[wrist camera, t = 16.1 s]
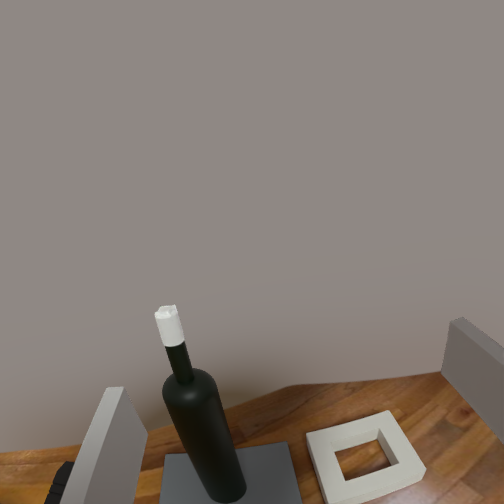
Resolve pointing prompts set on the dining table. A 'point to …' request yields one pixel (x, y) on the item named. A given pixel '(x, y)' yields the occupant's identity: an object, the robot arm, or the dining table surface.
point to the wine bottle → (199, 416)
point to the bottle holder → (371, 485)
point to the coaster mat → (254, 471)
